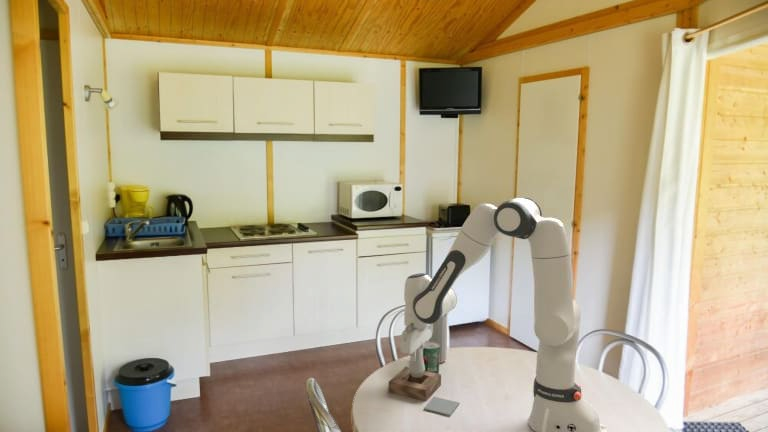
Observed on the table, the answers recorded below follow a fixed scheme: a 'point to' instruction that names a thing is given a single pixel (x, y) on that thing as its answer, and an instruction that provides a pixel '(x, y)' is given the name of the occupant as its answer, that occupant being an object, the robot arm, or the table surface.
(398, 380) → the socket block
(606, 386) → the table surface
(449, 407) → the coaster
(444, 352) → the water bottle
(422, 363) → the salt shaker
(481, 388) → the table surface
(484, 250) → the robot arm
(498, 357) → the table surface
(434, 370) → the canned tomato
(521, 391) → the table surface
